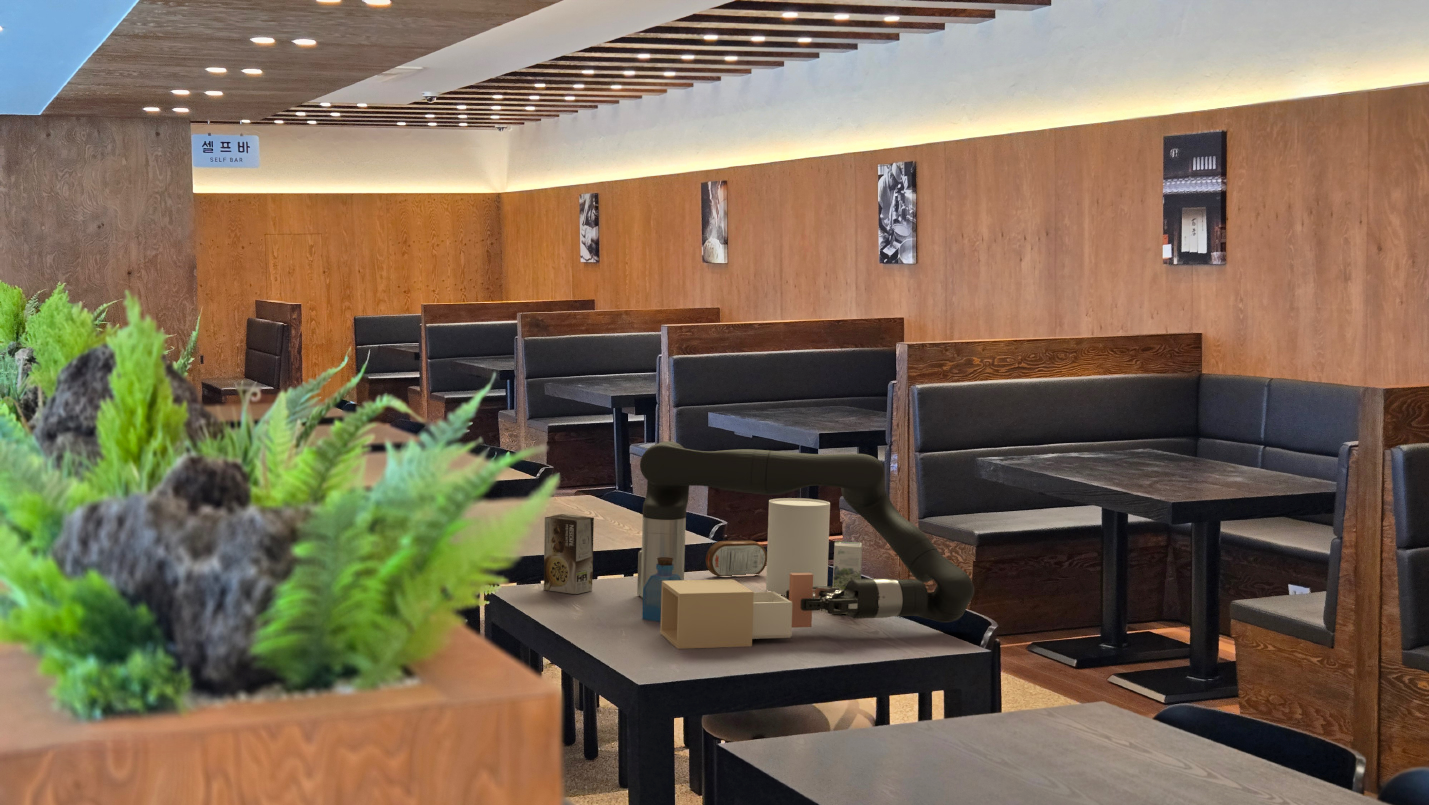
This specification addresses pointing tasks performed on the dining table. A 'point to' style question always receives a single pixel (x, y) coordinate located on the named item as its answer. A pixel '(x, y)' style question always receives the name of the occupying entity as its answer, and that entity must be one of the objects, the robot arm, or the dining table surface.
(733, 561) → the tin
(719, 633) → the mailer sleeve
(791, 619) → the tray
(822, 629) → the dining table surface
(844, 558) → the syrup box
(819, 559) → the canister
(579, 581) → the coffee box
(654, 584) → the perfume bottle
